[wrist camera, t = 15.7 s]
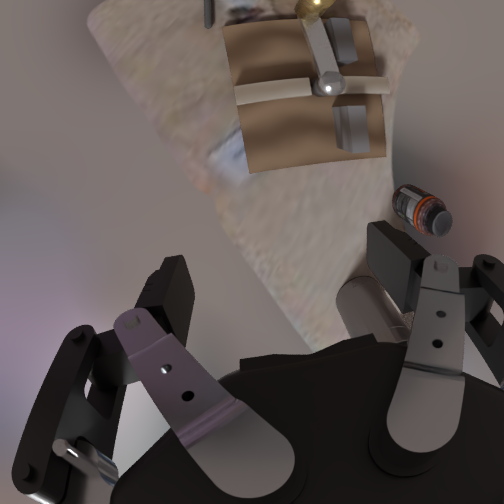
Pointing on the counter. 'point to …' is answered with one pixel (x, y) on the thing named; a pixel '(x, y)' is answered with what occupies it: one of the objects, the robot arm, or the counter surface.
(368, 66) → the lock base
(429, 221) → the supplement bottle
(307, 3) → the swing bar
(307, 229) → the counter surface
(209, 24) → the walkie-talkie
